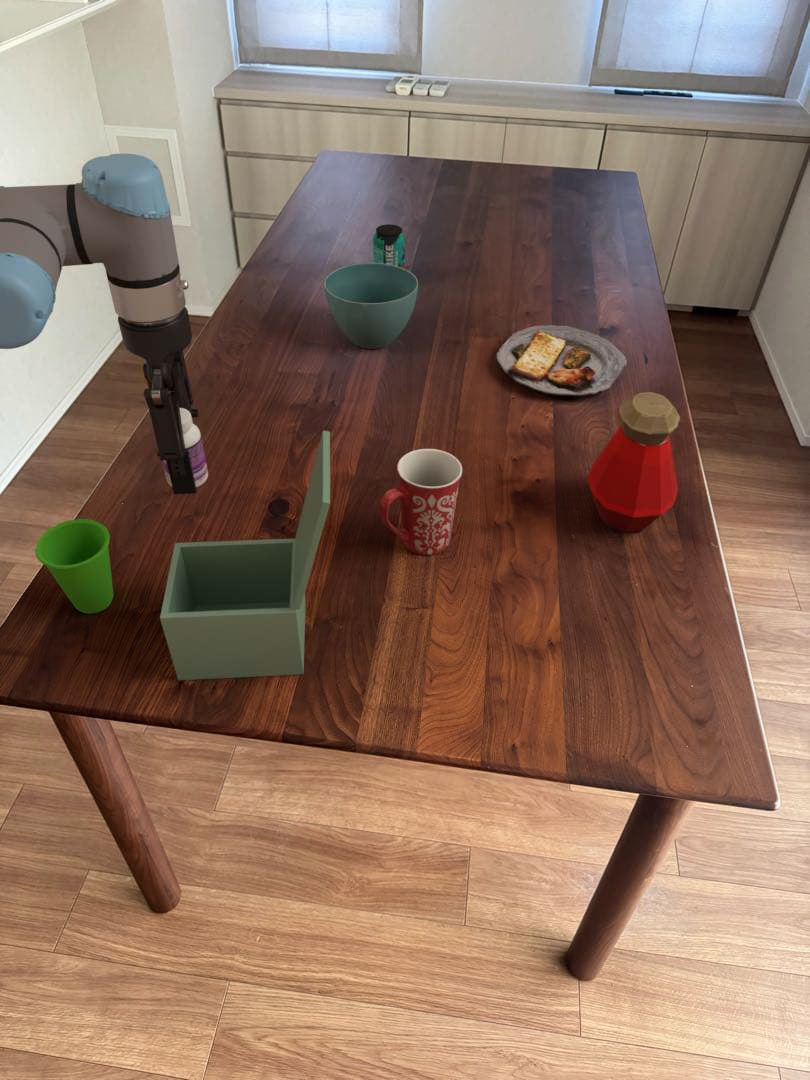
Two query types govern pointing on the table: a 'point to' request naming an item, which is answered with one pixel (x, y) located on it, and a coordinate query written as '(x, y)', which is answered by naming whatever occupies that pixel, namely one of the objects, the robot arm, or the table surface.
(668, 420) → the bottle
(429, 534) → the mug
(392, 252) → the beverage can
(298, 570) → the lid
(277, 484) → the table surface
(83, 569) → the cup
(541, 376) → the food plate
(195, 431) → the pill bottle
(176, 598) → the chest
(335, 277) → the plant pot
